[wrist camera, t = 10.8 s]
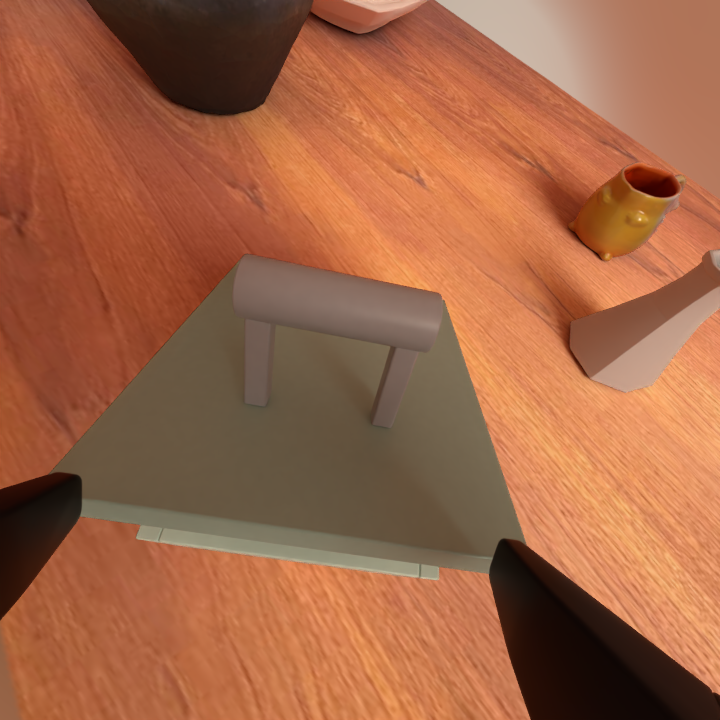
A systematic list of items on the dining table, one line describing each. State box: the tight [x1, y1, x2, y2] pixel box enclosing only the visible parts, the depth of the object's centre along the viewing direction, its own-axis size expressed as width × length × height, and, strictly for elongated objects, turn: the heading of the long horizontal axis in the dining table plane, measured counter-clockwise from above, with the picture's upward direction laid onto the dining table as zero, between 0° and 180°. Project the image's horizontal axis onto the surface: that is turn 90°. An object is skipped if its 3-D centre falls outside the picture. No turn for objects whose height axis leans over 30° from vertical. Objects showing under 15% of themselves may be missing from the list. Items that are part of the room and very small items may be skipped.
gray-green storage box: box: [136, 525, 439, 580], centre depth 19 cm, size 14×12×6 cm
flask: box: [570, 249, 720, 393], centre depth 25 cm, size 7×7×10 cm
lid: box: [49, 254, 527, 574], centre depth 13 cm, size 14×12×5 cm
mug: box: [568, 162, 686, 261], centre depth 35 cm, size 12×7×7 cm, turn 115°
